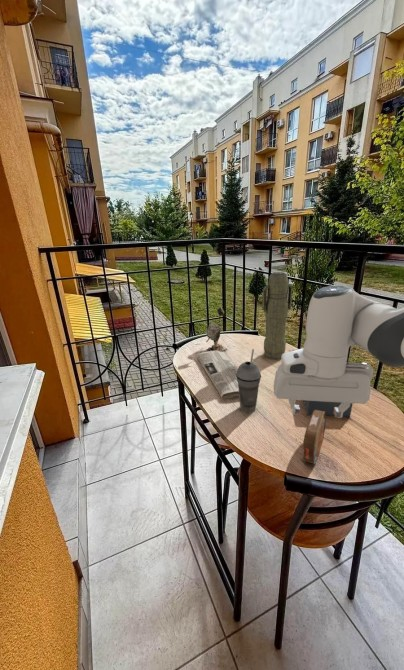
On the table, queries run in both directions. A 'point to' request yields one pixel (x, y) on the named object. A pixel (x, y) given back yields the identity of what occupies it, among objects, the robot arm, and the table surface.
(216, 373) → the newspaper
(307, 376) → the robot arm
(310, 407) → the bin
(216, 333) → the plant with pod
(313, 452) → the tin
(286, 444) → the table surface
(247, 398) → the beverage cup
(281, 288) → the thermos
